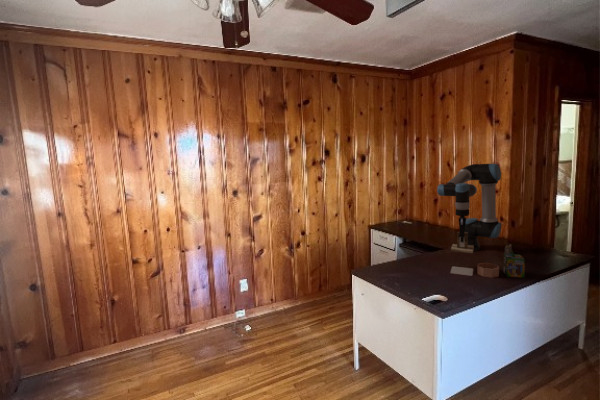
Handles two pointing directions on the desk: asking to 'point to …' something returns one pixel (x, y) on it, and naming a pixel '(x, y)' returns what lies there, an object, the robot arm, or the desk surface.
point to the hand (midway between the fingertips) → (462, 246)
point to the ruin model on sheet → (508, 249)
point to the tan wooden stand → (462, 249)
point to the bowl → (488, 270)
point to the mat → (462, 270)
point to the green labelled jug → (513, 265)
